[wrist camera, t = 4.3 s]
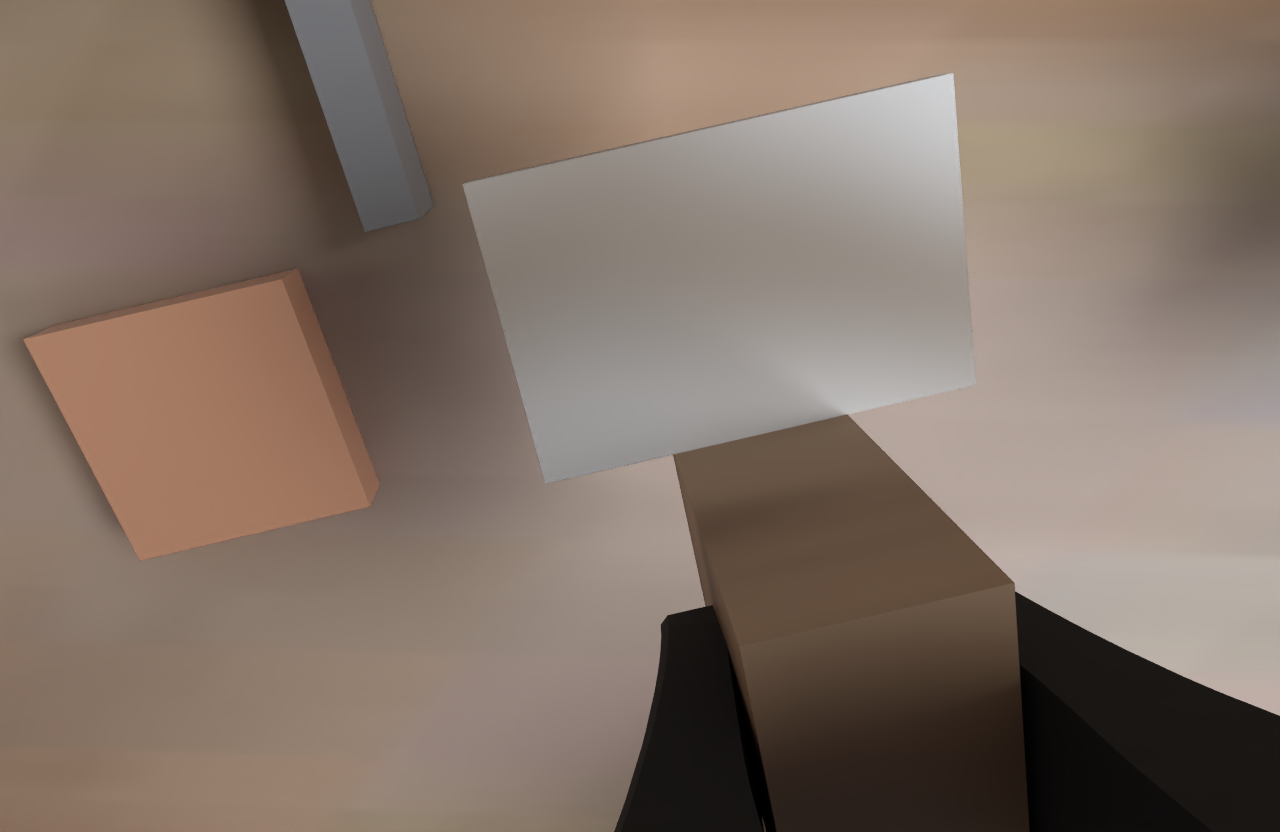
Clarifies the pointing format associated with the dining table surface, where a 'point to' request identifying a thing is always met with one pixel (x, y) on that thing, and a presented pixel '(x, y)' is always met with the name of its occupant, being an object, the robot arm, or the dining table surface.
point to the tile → (209, 413)
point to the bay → (362, 109)
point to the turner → (786, 430)
